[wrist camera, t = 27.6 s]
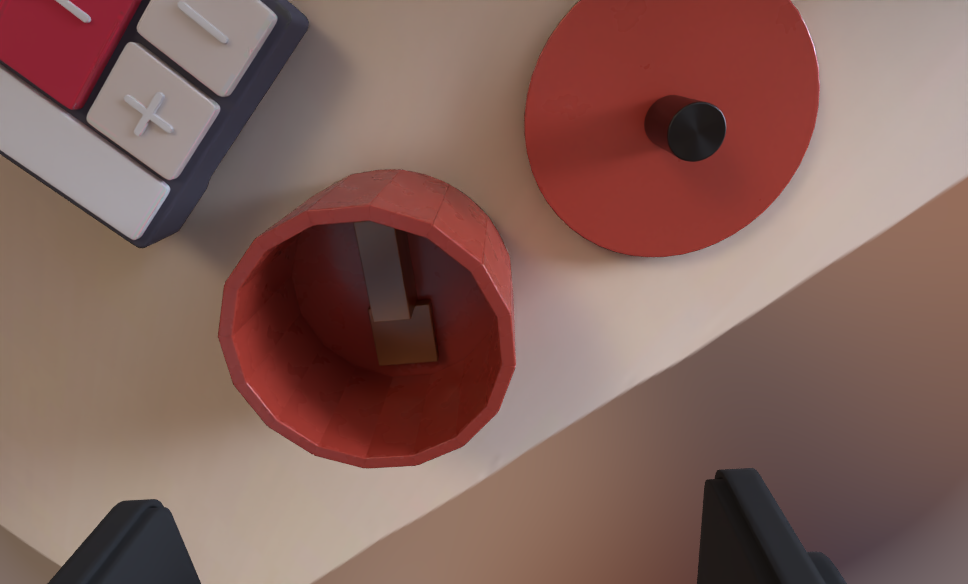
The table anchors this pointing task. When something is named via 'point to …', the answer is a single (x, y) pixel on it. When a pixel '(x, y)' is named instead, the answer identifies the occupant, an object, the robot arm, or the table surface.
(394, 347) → the stepped wooden block pair
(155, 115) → the calculator
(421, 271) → the pot
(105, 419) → the table surface
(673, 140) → the lid
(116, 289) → the table surface
